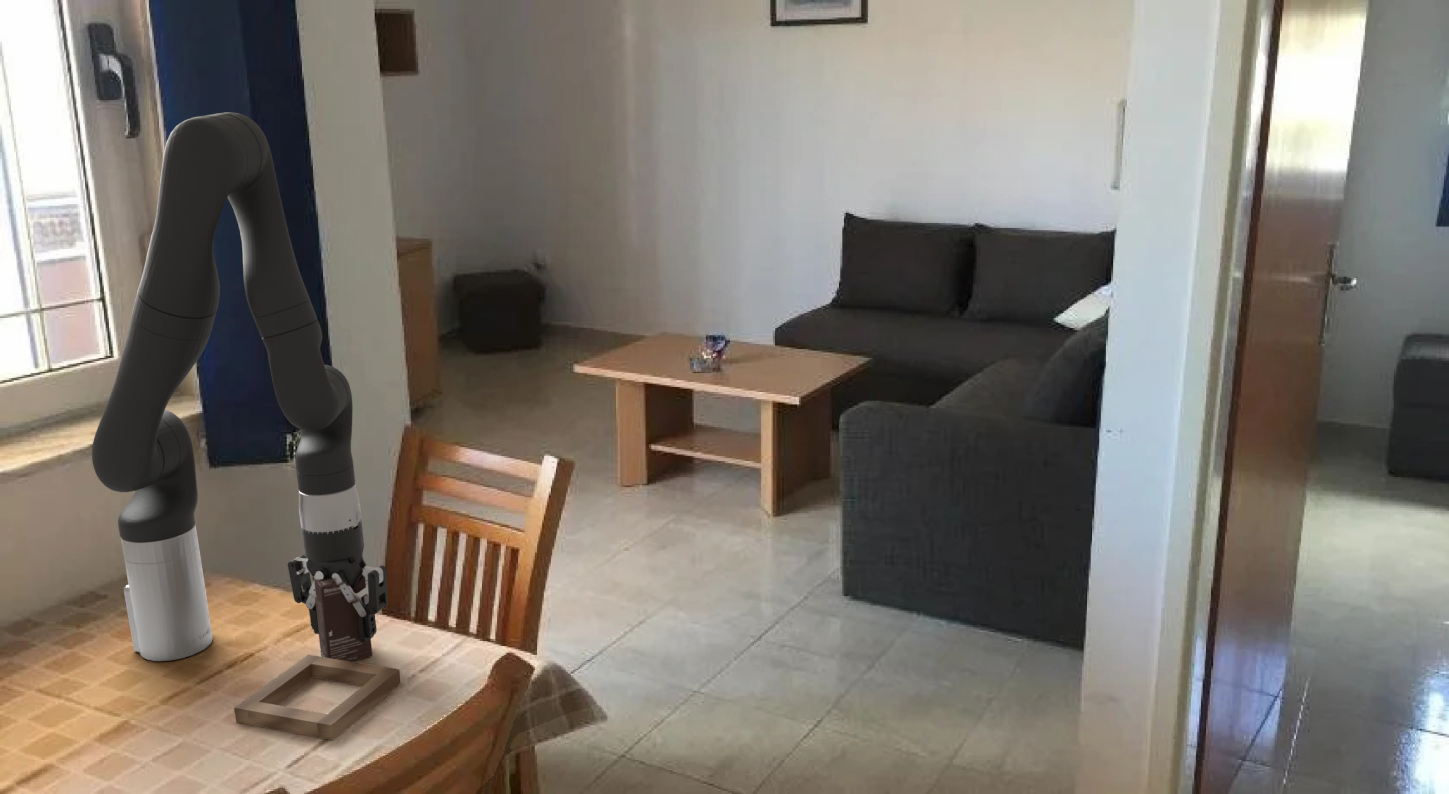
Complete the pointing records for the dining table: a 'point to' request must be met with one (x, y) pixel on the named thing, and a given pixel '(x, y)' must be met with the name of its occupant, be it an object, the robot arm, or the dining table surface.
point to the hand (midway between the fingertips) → (344, 635)
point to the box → (339, 622)
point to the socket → (327, 726)
